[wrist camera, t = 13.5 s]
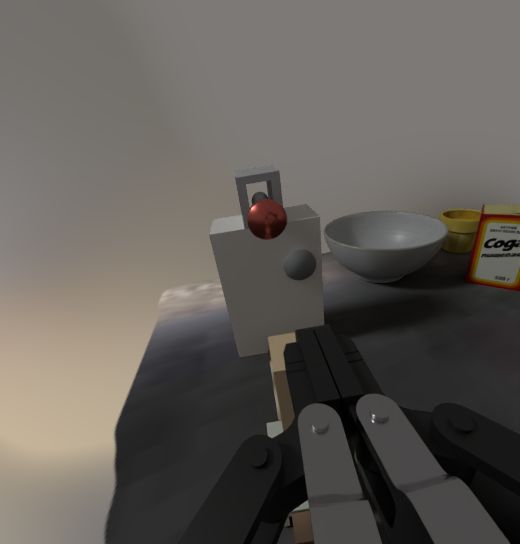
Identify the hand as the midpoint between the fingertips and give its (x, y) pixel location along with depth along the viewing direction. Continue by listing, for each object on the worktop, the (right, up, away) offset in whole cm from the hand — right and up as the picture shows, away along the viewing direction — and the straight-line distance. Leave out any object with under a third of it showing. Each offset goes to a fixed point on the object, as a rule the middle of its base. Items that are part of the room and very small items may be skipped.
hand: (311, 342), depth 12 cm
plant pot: (+52, +9, +61) cm, 81 cm away
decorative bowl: (+28, +3, +57) cm, 63 cm away
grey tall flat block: (+2, -10, +40) cm, 41 cm away
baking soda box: (+49, +1, +47) cm, 68 cm away
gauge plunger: (-2, +9, +23) cm, 25 cm away
